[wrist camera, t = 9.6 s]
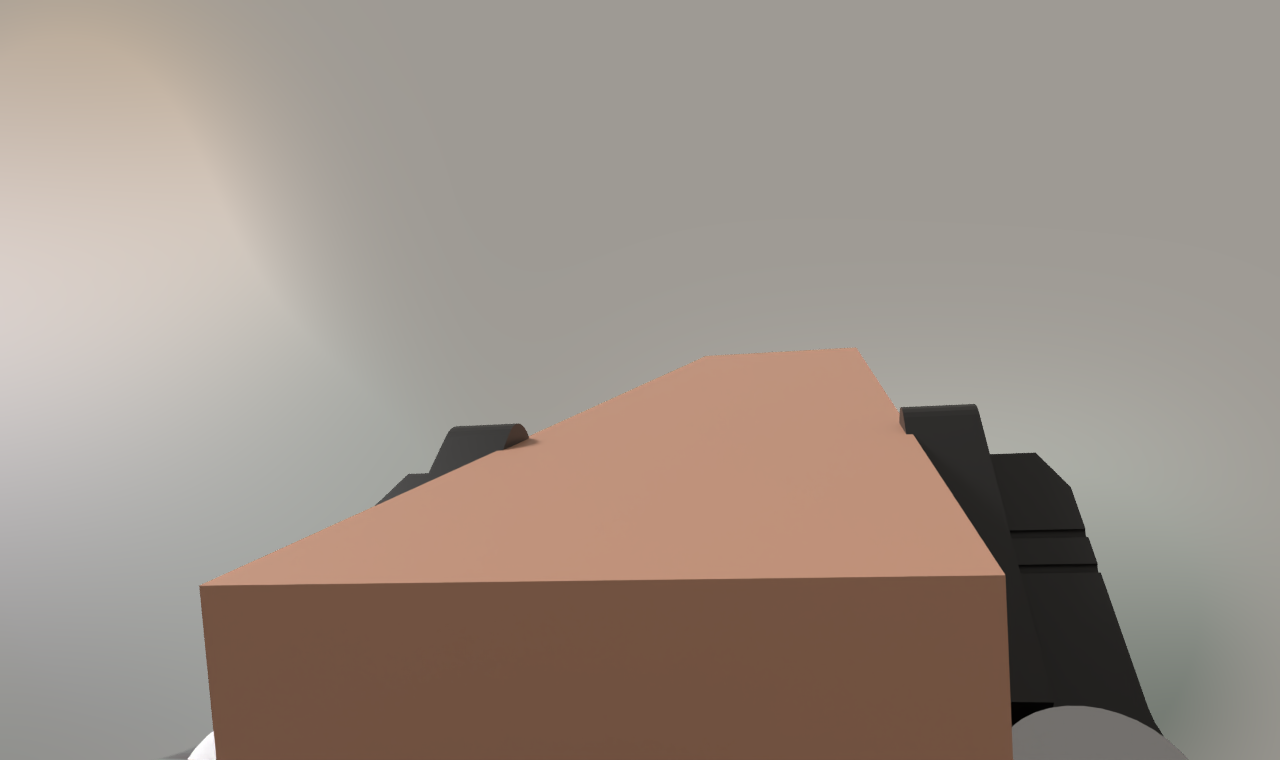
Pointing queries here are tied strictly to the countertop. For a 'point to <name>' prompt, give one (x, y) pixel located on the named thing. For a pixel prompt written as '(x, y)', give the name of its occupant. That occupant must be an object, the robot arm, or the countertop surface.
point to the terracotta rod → (638, 594)
